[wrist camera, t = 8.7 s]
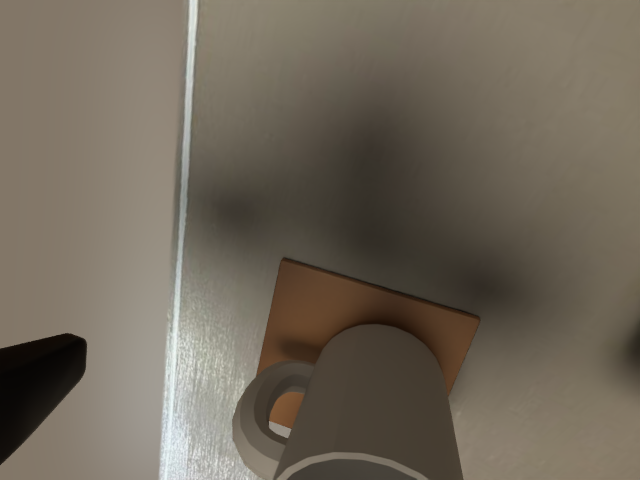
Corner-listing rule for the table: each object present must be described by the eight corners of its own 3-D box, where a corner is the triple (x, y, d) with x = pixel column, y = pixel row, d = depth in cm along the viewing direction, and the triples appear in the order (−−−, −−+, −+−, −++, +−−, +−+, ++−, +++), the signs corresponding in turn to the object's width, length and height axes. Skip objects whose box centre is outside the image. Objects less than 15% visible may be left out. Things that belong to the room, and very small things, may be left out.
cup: (422, 445, 22) (436, 642, 13) (263, 392, 23) (185, 540, 14) (462, 342, 19) (510, 500, 11) (284, 290, 21) (204, 395, 12)
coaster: (250, 409, 24) (248, 413, 24) (282, 257, 21) (280, 259, 20) (414, 468, 23) (415, 474, 22) (479, 316, 19) (480, 320, 19)
